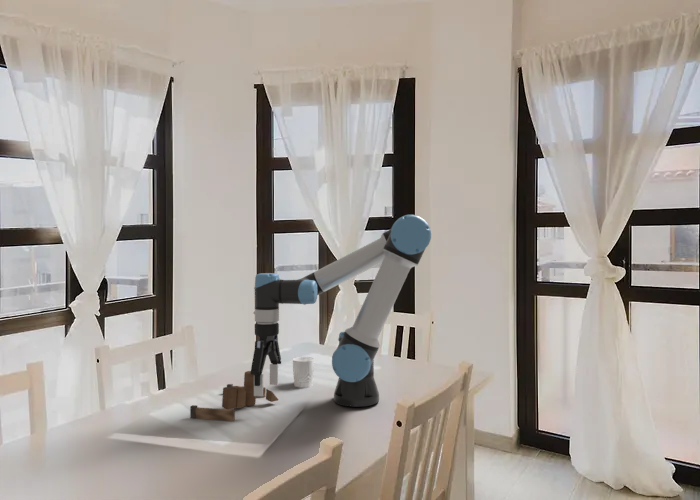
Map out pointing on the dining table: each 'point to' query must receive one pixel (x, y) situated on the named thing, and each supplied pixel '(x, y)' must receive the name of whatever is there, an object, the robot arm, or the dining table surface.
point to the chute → (215, 411)
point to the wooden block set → (243, 394)
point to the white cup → (303, 371)
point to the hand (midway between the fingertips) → (266, 390)
